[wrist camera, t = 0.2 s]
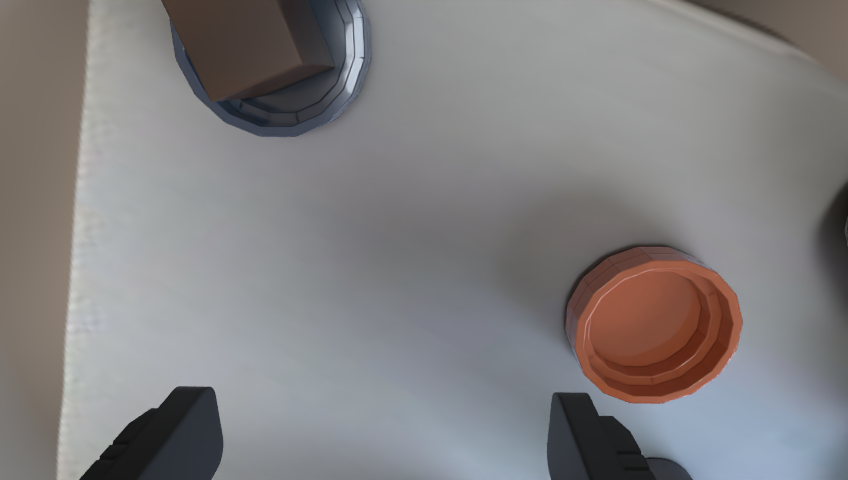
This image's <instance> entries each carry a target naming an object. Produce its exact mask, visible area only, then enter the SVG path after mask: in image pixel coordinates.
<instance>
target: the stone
mask: <svg viewBox="0 0 848 480" xmlns="http://www.w3.org/2000/svg"><path fill="white" fill-rule="evenodd" d="M845 235H846V240H847V246H848V218H847V221H846V225H845Z"/></svg>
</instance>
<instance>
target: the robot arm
mask: <svg viewBox="0 0 848 480" xmlns="http://www.w3.org/2000/svg"><path fill="white" fill-rule="evenodd" d="M222 452H223V435H222V429H221V424H220V418H219V412H218V406H217V400H216V395H215V391H214V389H213V388H212V387H187V386H179V387H176V388H175V389H174V390H173V391H172V392H171V393H170V395H169V396H168V397H167V398H166V399H165V400H164V402H163V403H162V404H161V405H160V406H159V408H151V409H150V410H148V411H147V412H145V413H144V414H142V415H141V416H139V417H138V418H136V419H135V420H133V421H132V422H130V423H129V424H128V425H127V426H126V427H125V429H124V430H123V431H122V432H121V433H120V434H119V435H118V436H117V438H116V439H115V440H114V441H113V445H109V447H108V448H107V449H106V450H105V451H104V452H103V453H102V454H101V456H100V459H99V460H96V461H95V462H94V463H93V465H92V466H91V467H90V468H89V469H88V470H87V471H86V472H85V474H84V475H83V476H82V477H81V478H80V479H79V480H211V479H212V477H213V476H214V474H215V472H216V470H217V468H218V466H219V464H220V461H221V457H222ZM547 459H548V468H549V473H550V477H551V480H656V478H655V476H654V474H653V472H652V471H650V467H649V465H648V463H647V461H646V459H645V458H644V456H643V455H641V450H640V448H639V447H638V445H637V443H636V441H635V439H634V437H633V436H632V434H631V432H630V431H629V430H628V429H626V428H625V427H624V426H623V425H622V424H621V423H620V422H619V421H618V420H616V419H615V418H614V417H613V416H599V415H598V413H597V411H596V409H595V407H594V404H593V402H592V400H591V398H590V396H589V395H588V394H587V393H563V392H555V393H554V394H553V396H552V402H551V412H550V422H549V433H548V443H547Z"/></svg>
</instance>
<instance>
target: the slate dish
mask: <svg viewBox="0 0 848 480" xmlns="http://www.w3.org/2000/svg"><path fill="white" fill-rule="evenodd" d="M309 1H310V4H311V6H312V9H313V11H314V14H315V16H316V19H317V21H318V24H319V26H320V29H321V31H322V34H323V36H324V39H325V41H326V44H327V46H328V49H329V51H330V54H331V56H332V59H333V61H334V64H335V68H334V69H331V70H329V71H326V72H324V73H321V74H319V75H316V76H314V77H311V78H309V79H306V80H304V81H301V82H299V83H296V84H294V85H291V86H289V87H286V88H284V89H281V90H279V91H276V92H274V93H272V94H269V95H267V96H262V97H253V98H244V99H235V100H226V101H217V102H211V101H210V99H209V97H208V95H207V93H206V91H205V89H204V87H203V85H202V83H201V81H200V79H199V77H198V75H197V73H196V71H195V69H194V67H193V64H192V62H191V60H190V58H189V56H188V54H187V52H186V50H185V48H184V46H183V44H182V42H181V40H180V38H179V36H178V34H177V32H176V30H175V27H174V25H173V23H172V21H171V19H170V25H171V31H172V38H173V44H174V50H175V57H176V61H177V62H178V64H179V66H180V68H181V70H182V72H183V74H184V75H185V77H186V79H187V81H188V83H189V85H190V86H191V88H192V90H193V92H194V94H195V95H196V96H197V97H198V98H199V99H200V100H201V101H202V102H203V103H204V104H205V105H206V106H207V107H209V108H210V109H211V110H212V111H213V112H214V113H215V114H216V115H217V116H218V117H220V118H221V119H222V120H223V121H224V122H226V123H227V124H230V125H232V126H235V127H237V128H240V129H242V130H245V131H247V132H250V133H252V134H254V135H257V136H261V137H295V136H299V135H301V134H303V133H306V132H308V131H311V130H313V129H315V128H317V127H320V126H322V125H324V124H326V123H329V122H331V121H333V120H335V119H336V118H338V117H339V116H340V115H341V114H342V112H343V111H344V110H345V109H346V108H347V107H348V106H349V105H350V104H351V102H352V101H353V100H354V99H355V98H356V97H357V96H358V93H360V90H361V87H362V85H363V82H364V79H365V76H366V73H367V70H368V68H369V65H370V62H371V61H370V60H371V41H370V22H369V19H368V16H367V14H366V11H365V9H364V7H363V4H362V2H361V0H309Z"/></svg>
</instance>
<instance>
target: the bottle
mask: <svg viewBox="0 0 848 480" xmlns="http://www.w3.org/2000/svg"><path fill="white" fill-rule="evenodd" d="M646 461H647V463H648V465H649V467H650V471H652V472H653V474H654V476H655V478H656V480H693V479H692V478H691V476H690V475H689V474H688V472H687V471H686V470H685V469H683V468H682V467H681V466H679V465H678V464H676V463H674V462H671V461H668V460H664V459H646Z"/></svg>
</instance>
